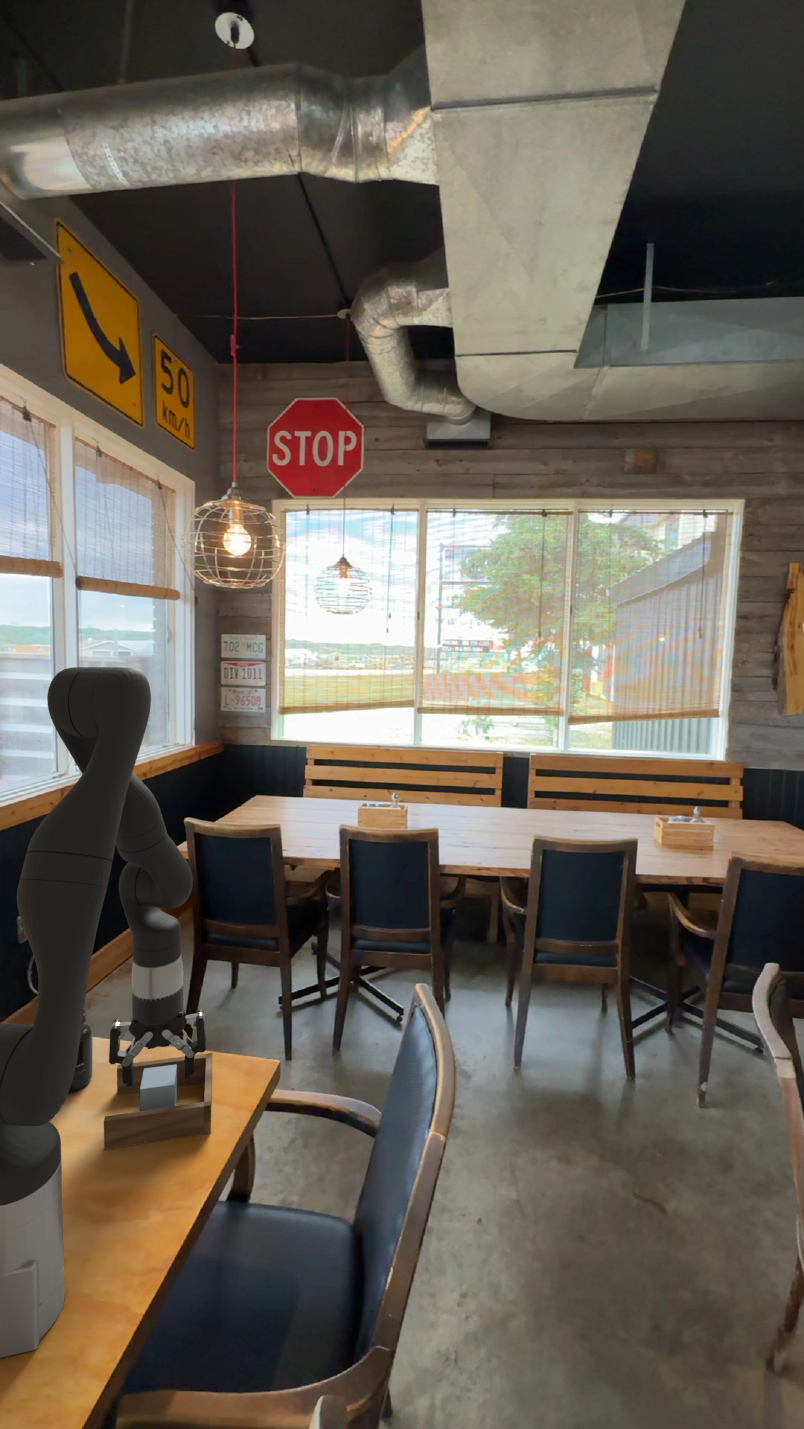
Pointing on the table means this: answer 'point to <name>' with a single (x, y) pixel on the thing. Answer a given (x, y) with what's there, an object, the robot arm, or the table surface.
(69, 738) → the robot arm
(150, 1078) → the slate block
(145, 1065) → the brown three-sided frame
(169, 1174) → the table surface
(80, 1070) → the supplement bottle
